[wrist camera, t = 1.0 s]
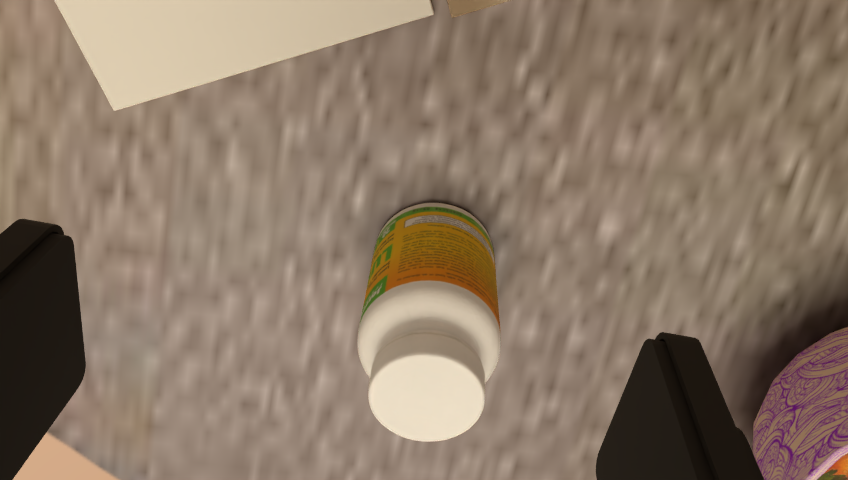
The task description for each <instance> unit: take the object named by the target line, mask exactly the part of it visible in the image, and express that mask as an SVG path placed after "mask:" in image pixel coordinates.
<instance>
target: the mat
mask: <svg viewBox="0 0 848 480" xmlns="http://www.w3.org/2000/svg"><path fill="white" fill-rule="evenodd" d="M55 2H56V4H57V6H58V8H59V10H60V12H61V13H62V15H63V17H64V19H65V21H66V23H67V25H68V26H69V28H70V30H71V32H72V34H73V36H74V38H75V39H76V41H77V43H78V45H79V47H80V49H81V50H82V52H83V54H84V56H85V58H86V60H87V62H88V63H89V65H90V67H91V69H92V71H93V73H94V75H95V76H96V78H97V80H98V82H99V84H100V86H101V88H102V89H103V91H104V93H105V95H106V97H107V99H108V101H109V102H110V104H111V106H112V108H113V110H114V111H116V110H119V109H123V108H126V107H129V106H133V105H136V104H139V103H142V102H146V101H149V100H152V99H156V98H159V97H162V96H166V95H169V94H172V93H176V92H179V91H182V90H186V89H189V88H192V87H195V86H199V85H202V84H205V83H209V82H212V81H215V80H219V79H222V78H225V77H229V76H232V75H235V74H239V73H242V72H245V71H248V70H252V69H255V68H258V67H262V66H265V65H268V64H272V63H275V62H278V61H282V60H285V59H288V58H292V57H295V56H298V55H301V54H305V53H308V52H311V51H315V50H318V49H321V48H325V47H328V46H331V45H335V44H338V43H341V42H345V41H348V40H351V39H354V38H358V37H361V36H364V35H368V34H371V33H374V32H378V31H381V30H384V29H388V28H391V27H394V26H398V25H401V24H404V23H407V22H411V21H414V20H417V19H421V18H424V17H427V16H431V15H434V10H433V7H432V3H431V0H55Z"/></svg>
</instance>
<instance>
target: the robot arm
mask: <svg viewBox="0 0 848 480" xmlns="http://www.w3.org/2000/svg"><path fill="white" fill-rule="evenodd" d="M85 367H86V362H85V352H84V342H83V332H82V322H81V312H80V302H79V292H78V282H77V272H76V262H75V252H74V244H73V240H72V238H71V237H69V236H66V235H64V232H63V230H62V228H61V227H60V226H58V225H55V224H50V223H44V222H38V221H33V220H27V219H19V220H17V221H16V222H14V223H13V224H12V225H11V226H9V227H8V228H7V229H6V230H5V231H3V232H2V233H1V234H0V480H12V479H13V478H14V477H15V475H16V474H17V473H18V471H19V470H20V468H21V467H22V465H23V464H24V463H25V461H26V460H27V459H28V457H29V456H30V454H31V453H32V451H33V450H34V449H35V447H36V446H37V445H38V443H39V442H40V440H41V439H42V437H43V436H44V435H45V433H46V432H47V431H48V429H49V428H50V426H51V425H52V424H53V422H54V421H55V419H56V418H57V417H58V415H59V414H60V413H61V411H62V410H63V408H64V407H65V406H66V404H67V403H68V401H69V400H70V399H71V397H72V396H73V394H74V393H75V392H76V390H77V389H78V387H79V386H80V384H81V382H82V380H83V377H84V373H85ZM596 476H597V480H764V478H763V476H762V473H761V471H760V469H759V466H758V464H757V462H756V459H755V457H754V455H753V452H752V450H751V448H750V445H749V443H748V441H747V439H746V437H745V435H744V434H743V432H742V431H741V430H740V429H738V428H737V427H736V426H735V424H734V422H733V419H732V417H731V414H730V412H729V410H728V407H727V405H726V402H725V400H724V398H723V395H722V393H721V391H720V388H719V386H718V383H717V381H716V379H715V376H714V374H713V372H712V369H711V367H710V364H709V362H708V360H707V357H706V355H705V353H704V350H703V348H702V345H701V343H700V342H699V340H698V339H696V338H692V337H687V336H681V335H676V334H670V333H664V332H662V333H660V334H659V335H658V336H657V337H656V339H655V340H653V339H647V340H646V341H645V342H644V344H643V346H642V348H641V351H640V353H639V356H638V358H637V360H636V363H635V365H634V368H633V370H632V373H631V375H630V377H629V380H628V382H627V385H626V387H625V390H624V392H623V394H622V397H621V399H620V402H619V404H618V407H617V409H616V412H615V414H614V416H613V419H612V421H611V424H610V426H609V429H608V431H607V433H606V436H605V438H604V441H603V443H602V446H601V448H600V450H599V453H598V457H597V463H596Z"/></svg>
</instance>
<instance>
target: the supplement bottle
mask: <svg viewBox="0 0 848 480" xmlns="http://www.w3.org/2000/svg"><path fill="white" fill-rule="evenodd" d="M500 348H501V337H500V321H499V310H498V297H497V285H496V270H495V259H494V251H493V246H492V242H491V239H490V237H489V235H488V233H487V231H486V230H485V228H484V227H483V225H482V224H481V223H480V222H479V221H478V220H477V219H476V218H475V217H474V216H473V215H471V214H470V213H468V212H467V211H465V210H463V209H461V208H458V207H455V206H452V205H448V204H443V203H423V204H418V205H415V206H411V207H409V208H406V209H404V210H402V211H400V212H399V213H397V214H396V215H394V216H393V217H392V218H391V219H390V220H389V221H388V222H387V223H386V224H385V226H384V227H383V228H382V230H381V232H380V234H379V236H378V239H377V242H376V245H375V249H374V254H373V259H372V264H371V270H370V275H369V280H368V285H367V290H366V296H365V301H364V306H363V310H362V315H361V321H360V325H359V331H358V353H359V357H360V361H361V363H362V366H363V368H364V370H365V371H366V373H367V375H368V376H369V377H370V382H369V390H368V398H369V404H370V407H371V410H372V412H373V414H374V415H375V417H376V418H377V419H378V421H379V422H380V423H381V424H382V425H383V426H385V427H386V428H387V429H388V430H390V431H392V432H393V433H395V434H397V435H399V436H402V437H404V438H408V439H411V440H416V441H441V440H446V439H449V438H453V437H456V436H458V435H460V434H462V433H463V432H465V431H467V430H468V429H469V428H470V427H471V426H473V425H474V424H475V422H476V421H477V420H478V419H479V417H480V415H481V413H482V411H483V408H484V403H485V383H486V382H487V380H488V379H489V378H490V376H491V375H492V373H493V372H494V370H495V368H496V365H497V363H498V360H499V356H500Z"/></svg>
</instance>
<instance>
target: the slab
mask: <svg viewBox="0 0 848 480" xmlns="http://www.w3.org/2000/svg"><path fill="white" fill-rule="evenodd" d="M507 1H511V0H447V3H448V6H449V10H450V13H451V17H452V18H454V17H457V16H460V15H464V14H467V13H470V12H474V11H477V10H480V9H484V8H487V7H490V6H494V5H497V4H501V3H504V2H507Z"/></svg>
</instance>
